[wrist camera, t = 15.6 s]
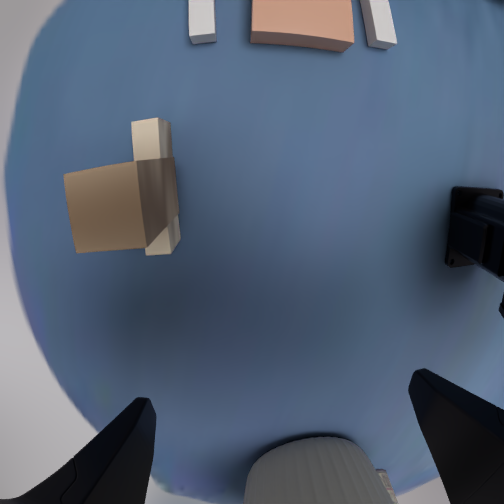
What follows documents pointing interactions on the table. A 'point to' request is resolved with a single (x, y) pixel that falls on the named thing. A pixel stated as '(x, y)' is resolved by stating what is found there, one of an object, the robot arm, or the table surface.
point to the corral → (372, 9)
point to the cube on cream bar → (128, 197)
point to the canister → (315, 475)
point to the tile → (303, 23)
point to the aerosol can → (387, 484)
